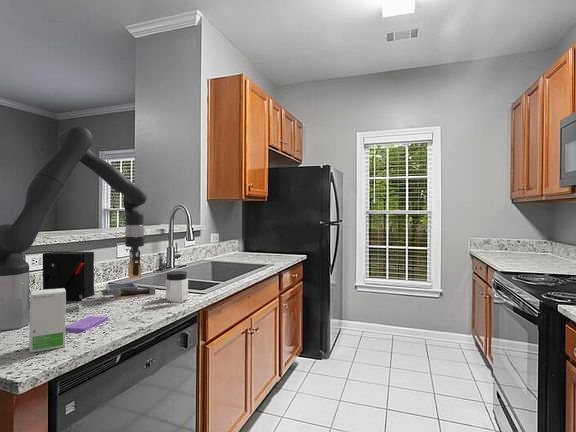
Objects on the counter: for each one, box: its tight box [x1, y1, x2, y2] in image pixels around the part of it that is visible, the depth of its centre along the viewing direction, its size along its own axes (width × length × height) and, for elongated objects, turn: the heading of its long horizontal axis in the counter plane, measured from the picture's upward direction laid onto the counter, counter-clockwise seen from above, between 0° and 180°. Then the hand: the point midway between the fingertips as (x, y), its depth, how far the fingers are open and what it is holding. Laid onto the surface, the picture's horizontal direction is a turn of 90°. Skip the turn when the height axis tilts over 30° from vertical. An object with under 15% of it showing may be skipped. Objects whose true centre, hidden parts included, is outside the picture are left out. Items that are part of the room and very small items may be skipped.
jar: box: [165, 270, 189, 305], centre depth 147 cm, size 9×8×12 cm
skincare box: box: [28, 288, 67, 354], centre depth 98 cm, size 8×7×16 cm
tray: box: [105, 281, 139, 296], centre depth 161 cm, size 12×12×3 cm
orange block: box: [127, 261, 142, 279], centre depth 153 cm, size 6×4×6 cm
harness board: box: [112, 285, 157, 300], centre depth 153 cm, size 16×10×4 cm, turn 122°
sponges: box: [65, 315, 109, 333], centre depth 116 cm, size 7×13×2 cm, turn 174°
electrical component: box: [42, 250, 96, 302], centre depth 150 cm, size 18×10×20 cm, turn 84°
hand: (134, 274), depth 153 cm, fingers closed on orange block, 5 cm apart
